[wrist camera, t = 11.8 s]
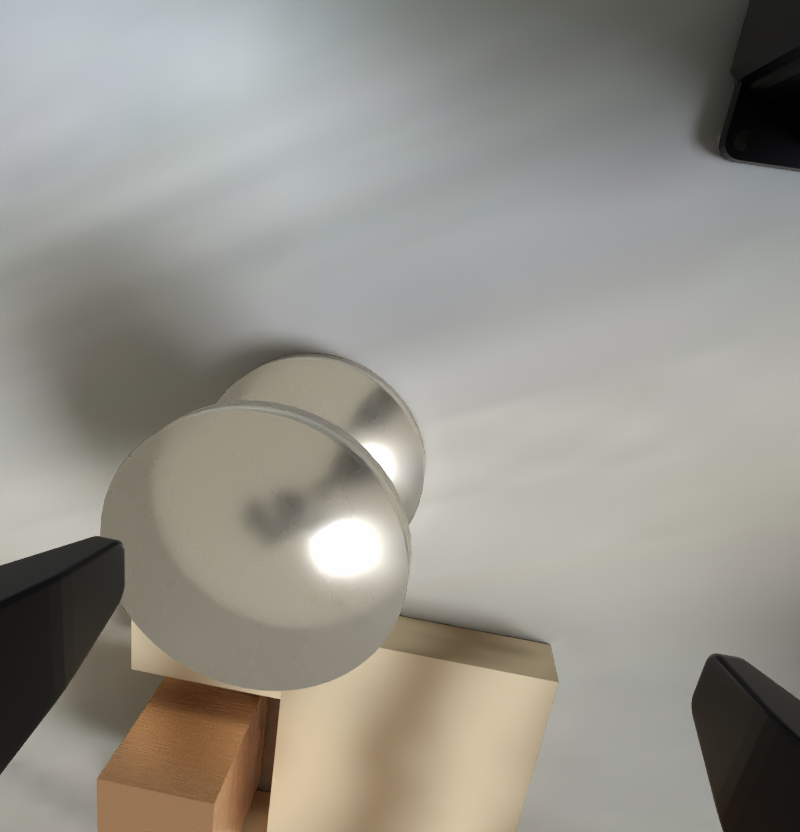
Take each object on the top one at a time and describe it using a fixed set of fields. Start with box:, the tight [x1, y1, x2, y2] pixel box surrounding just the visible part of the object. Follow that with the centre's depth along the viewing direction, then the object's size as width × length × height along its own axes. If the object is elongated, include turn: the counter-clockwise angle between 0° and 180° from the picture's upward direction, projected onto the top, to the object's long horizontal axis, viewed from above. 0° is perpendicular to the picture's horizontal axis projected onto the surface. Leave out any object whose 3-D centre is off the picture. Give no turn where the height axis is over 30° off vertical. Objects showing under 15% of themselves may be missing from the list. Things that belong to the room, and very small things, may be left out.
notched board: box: [131, 616, 559, 832], centre depth 24 cm, size 16×14×2 cm
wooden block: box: [97, 676, 269, 832], centre depth 23 cm, size 4×6×6 cm, turn 171°
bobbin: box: [100, 354, 425, 691], centre depth 18 cm, size 8×8×7 cm
